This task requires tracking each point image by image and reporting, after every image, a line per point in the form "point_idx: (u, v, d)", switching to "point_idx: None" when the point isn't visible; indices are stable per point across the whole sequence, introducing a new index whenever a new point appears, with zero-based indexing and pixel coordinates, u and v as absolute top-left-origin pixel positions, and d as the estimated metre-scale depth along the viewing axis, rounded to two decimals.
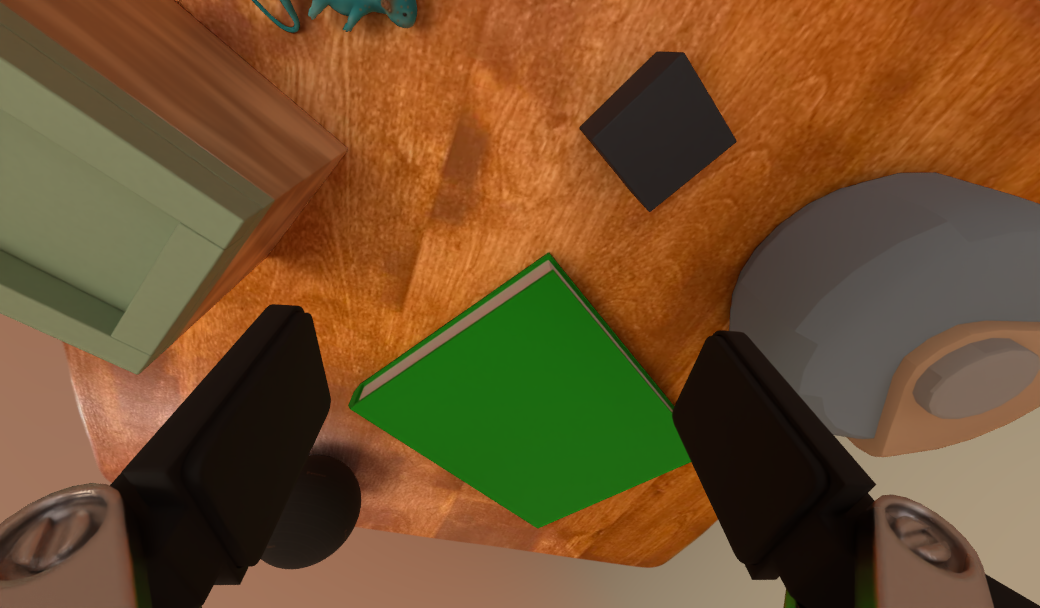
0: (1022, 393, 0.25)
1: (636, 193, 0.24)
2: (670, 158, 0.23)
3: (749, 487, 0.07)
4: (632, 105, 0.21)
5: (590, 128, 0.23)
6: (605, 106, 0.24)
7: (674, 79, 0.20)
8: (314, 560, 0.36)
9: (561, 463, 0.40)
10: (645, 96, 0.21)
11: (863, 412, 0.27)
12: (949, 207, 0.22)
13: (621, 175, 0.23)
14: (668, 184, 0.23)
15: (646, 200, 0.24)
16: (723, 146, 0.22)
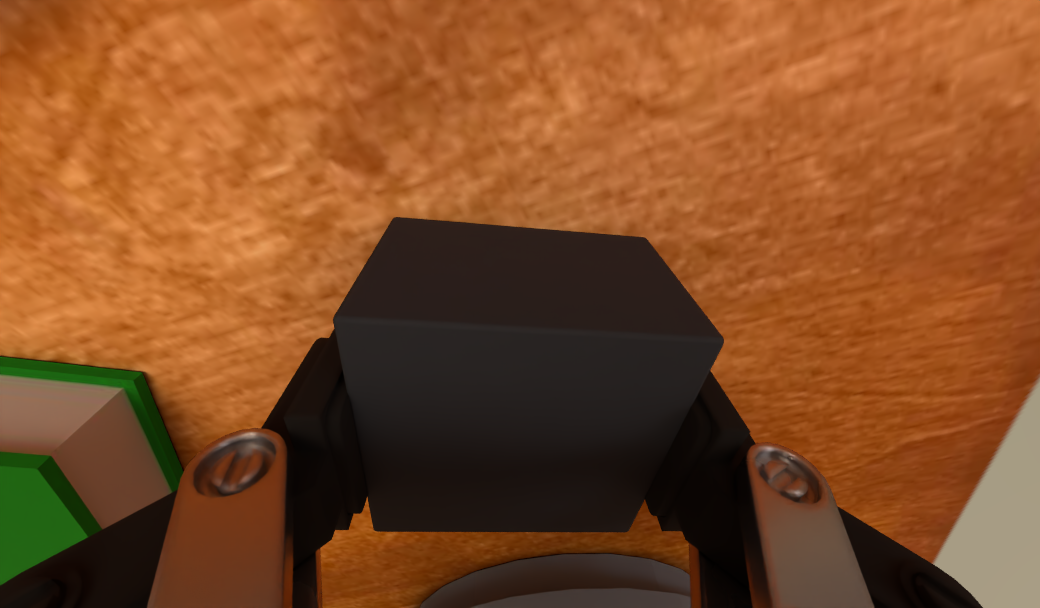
0: None
1: (369, 492, 0.08)
2: (498, 485, 0.08)
3: None
4: (519, 338, 0.06)
5: (391, 259, 0.07)
6: (475, 238, 0.08)
7: (653, 372, 0.06)
8: None
9: None
10: (562, 348, 0.06)
11: None
12: None
13: (359, 443, 0.07)
14: (453, 517, 0.09)
15: (382, 514, 0.08)
16: (602, 525, 0.09)
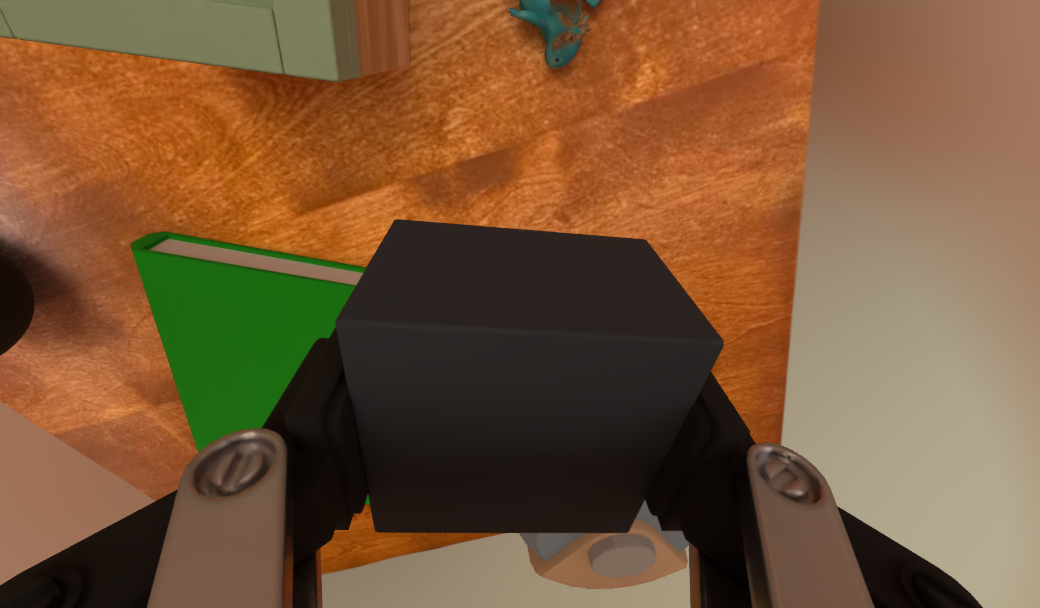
0: None
1: (371, 493, 0.08)
2: (499, 486, 0.08)
3: None
4: (520, 340, 0.06)
5: (392, 262, 0.07)
6: (476, 240, 0.08)
7: (653, 374, 0.06)
8: None
9: None
10: (563, 350, 0.06)
11: (557, 541, 0.35)
12: None
13: (361, 445, 0.07)
14: (454, 518, 0.09)
15: (384, 515, 0.08)
16: (603, 526, 0.09)
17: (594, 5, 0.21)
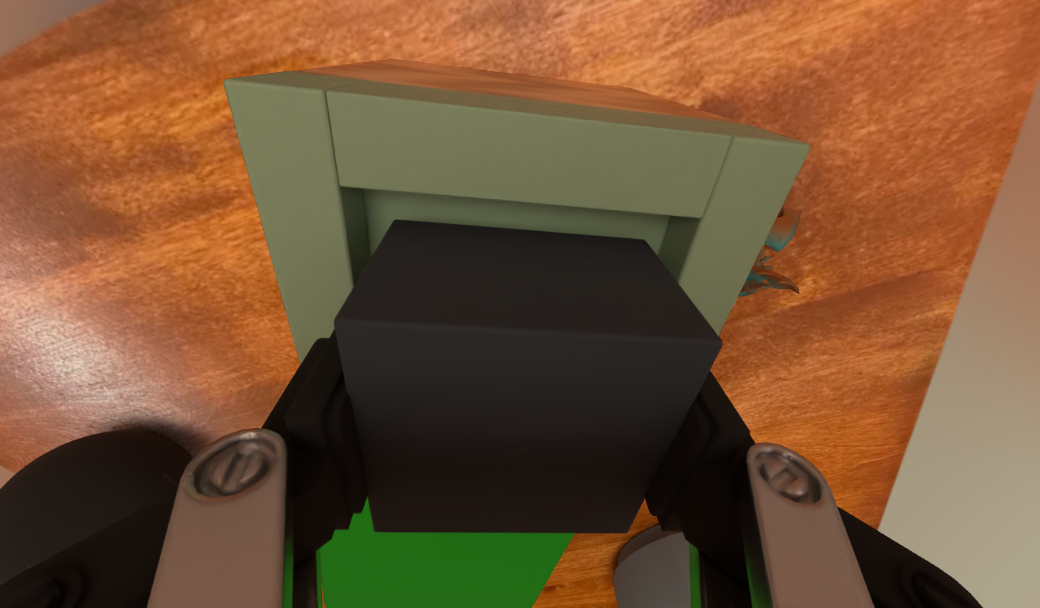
0: None
1: (369, 493, 0.08)
2: (498, 486, 0.08)
3: None
4: (518, 340, 0.06)
5: (391, 262, 0.07)
6: (475, 240, 0.08)
7: (651, 373, 0.06)
8: None
9: (426, 578, 0.38)
10: (561, 349, 0.06)
11: None
12: None
13: (360, 445, 0.07)
14: (453, 518, 0.09)
15: (382, 515, 0.08)
16: (602, 526, 0.09)
17: (779, 250, 0.22)
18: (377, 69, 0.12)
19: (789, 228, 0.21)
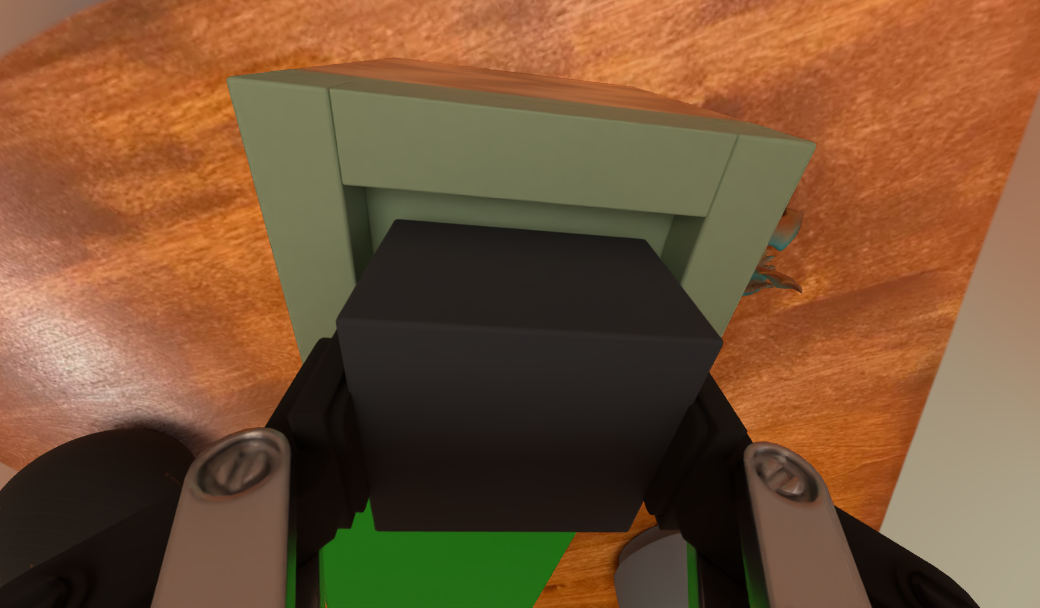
0: None
1: (371, 492, 0.08)
2: (499, 486, 0.08)
3: None
4: (520, 340, 0.06)
5: (392, 261, 0.07)
6: (476, 240, 0.08)
7: (652, 372, 0.06)
8: None
9: (427, 577, 0.38)
10: (562, 348, 0.06)
11: None
12: None
13: (361, 444, 0.07)
14: (454, 517, 0.09)
15: (384, 514, 0.08)
16: (602, 525, 0.09)
17: (781, 250, 0.22)
18: (380, 67, 0.12)
19: (792, 227, 0.21)
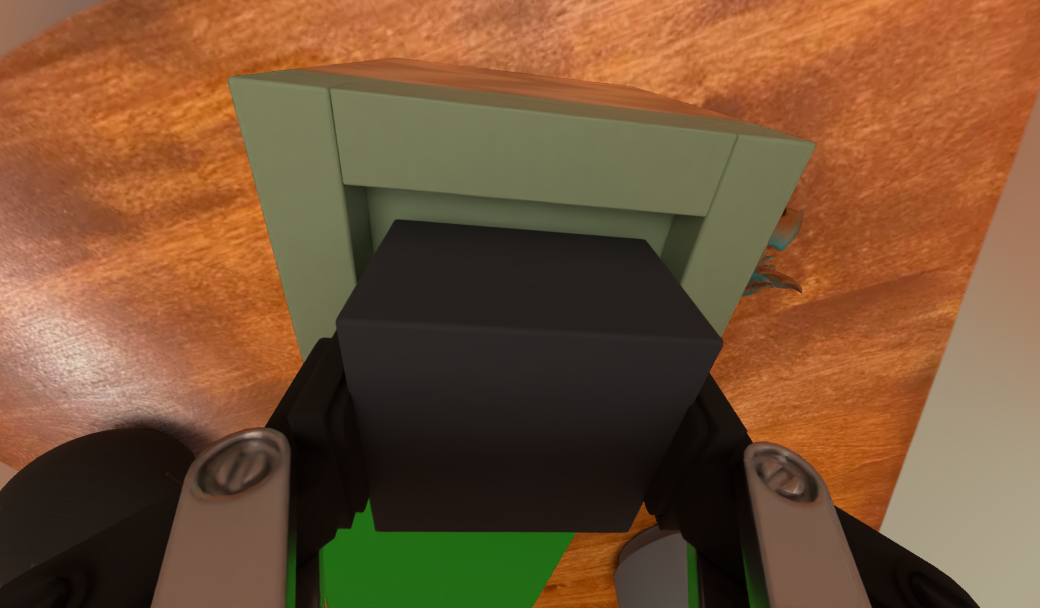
0: None
1: (371, 492, 0.08)
2: (499, 486, 0.08)
3: None
4: (520, 340, 0.06)
5: (392, 261, 0.07)
6: (476, 240, 0.08)
7: (652, 373, 0.06)
8: None
9: (427, 577, 0.38)
10: (563, 349, 0.06)
11: None
12: None
13: (361, 444, 0.07)
14: (454, 517, 0.09)
15: (384, 514, 0.08)
16: (603, 525, 0.09)
17: (781, 250, 0.22)
18: (380, 67, 0.12)
19: (792, 227, 0.21)
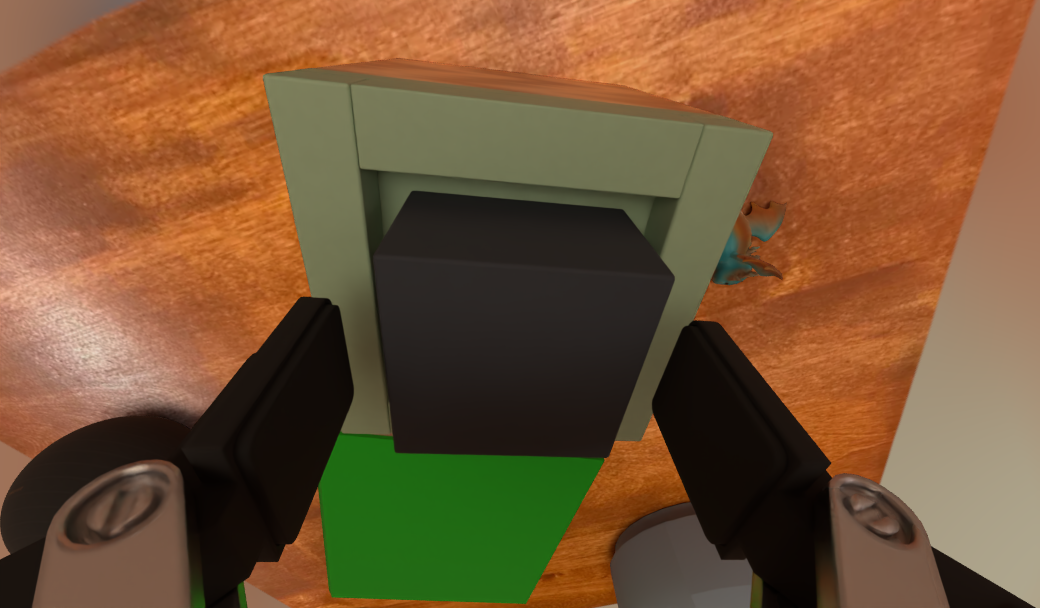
0: None
1: (393, 413, 0.10)
2: (499, 408, 0.10)
3: (718, 471, 0.08)
4: (515, 273, 0.08)
5: (412, 219, 0.09)
6: (480, 206, 0.10)
7: (620, 304, 0.08)
8: None
9: (428, 563, 0.39)
10: (549, 282, 0.08)
11: None
12: None
13: (387, 367, 0.09)
14: (461, 439, 0.10)
15: (403, 435, 0.10)
16: (586, 450, 0.11)
17: None
18: (388, 67, 0.13)
19: (775, 219, 0.22)
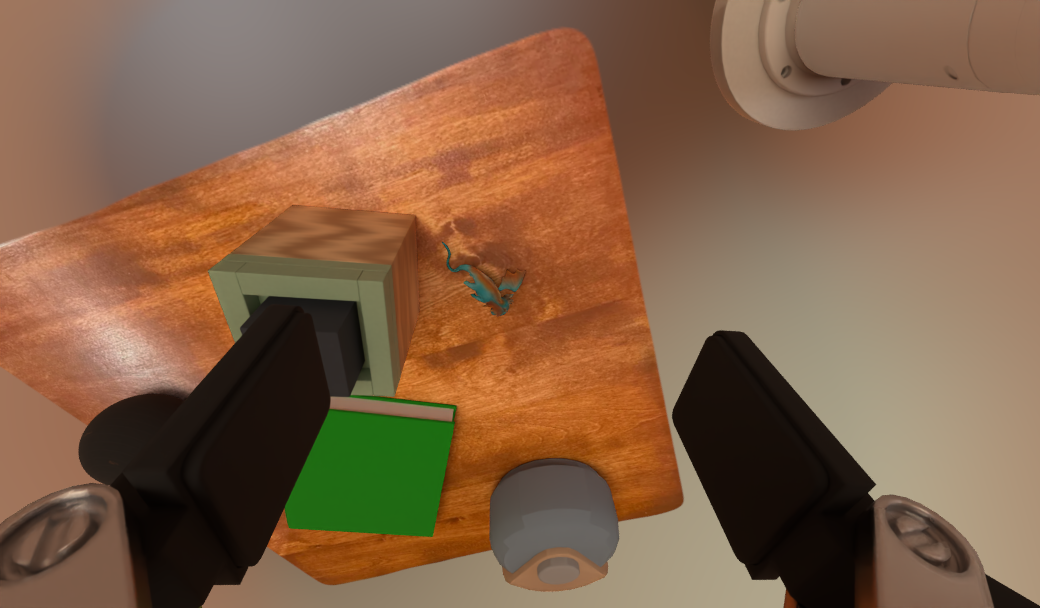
0: (568, 582, 0.57)
1: None
2: None
3: (749, 488, 0.07)
4: None
5: (260, 311, 0.26)
6: (292, 302, 0.27)
7: (323, 341, 0.25)
8: None
9: (353, 500, 0.57)
10: None
11: (517, 561, 0.55)
12: (595, 505, 0.53)
13: None
14: None
15: None
16: (339, 394, 0.28)
17: (515, 291, 0.40)
18: (270, 234, 0.30)
19: (517, 280, 0.39)
